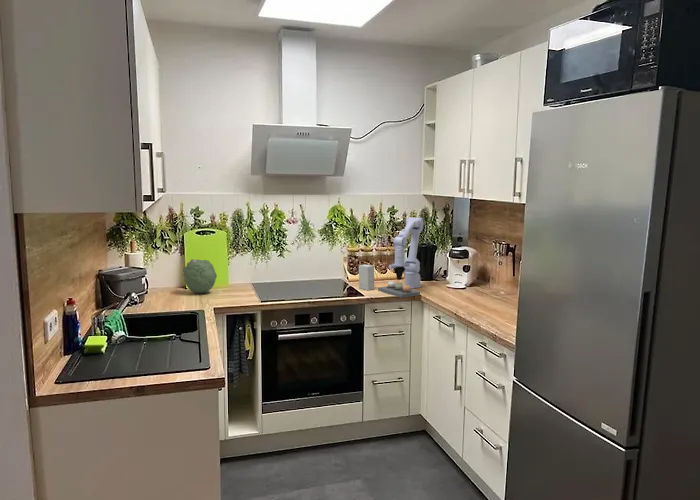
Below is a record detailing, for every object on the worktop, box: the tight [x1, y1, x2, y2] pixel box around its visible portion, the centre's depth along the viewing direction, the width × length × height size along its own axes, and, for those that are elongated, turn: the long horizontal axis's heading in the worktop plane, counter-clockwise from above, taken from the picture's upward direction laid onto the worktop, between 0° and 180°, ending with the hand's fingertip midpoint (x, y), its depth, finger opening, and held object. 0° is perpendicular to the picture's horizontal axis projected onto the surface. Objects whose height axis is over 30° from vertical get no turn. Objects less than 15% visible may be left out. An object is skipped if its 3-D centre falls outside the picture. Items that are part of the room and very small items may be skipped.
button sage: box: [395, 282, 404, 289], centre depth 302 cm, size 4×4×3 cm
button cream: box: [387, 280, 396, 287], centre depth 307 cm, size 4×4×3 cm
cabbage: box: [182, 259, 218, 294], centre depth 293 cm, size 16×19×20 cm
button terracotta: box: [403, 284, 410, 292], centre depth 296 cm, size 4×4×3 cm
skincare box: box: [358, 263, 375, 291], centre depth 311 cm, size 8×6×15 cm
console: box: [377, 285, 421, 299], centre depth 302 cm, size 14×22×2 cm, turn 34°
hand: (399, 279), depth 301 cm, fingers closed
